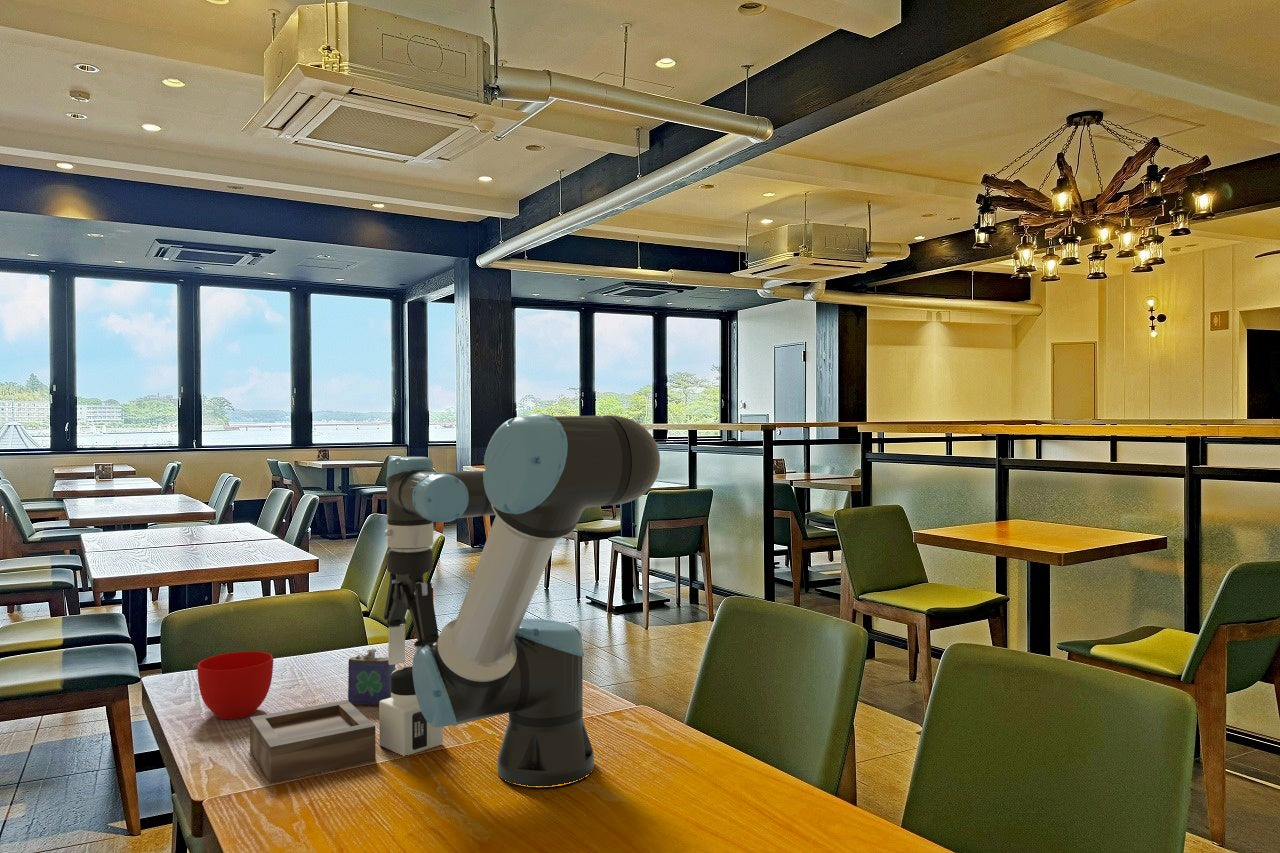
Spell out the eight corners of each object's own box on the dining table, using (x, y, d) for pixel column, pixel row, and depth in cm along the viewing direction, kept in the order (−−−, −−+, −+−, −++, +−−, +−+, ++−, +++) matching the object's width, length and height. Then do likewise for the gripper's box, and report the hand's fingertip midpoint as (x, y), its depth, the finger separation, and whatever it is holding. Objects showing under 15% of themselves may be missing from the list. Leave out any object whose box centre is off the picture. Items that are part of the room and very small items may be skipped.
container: (443, 744, 149) (443, 668, 149) (403, 757, 143) (403, 678, 143) (418, 733, 154) (417, 659, 154) (378, 745, 149) (378, 669, 148)
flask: (397, 702, 171) (397, 647, 171) (392, 707, 168) (392, 651, 168) (350, 701, 172) (350, 647, 172) (345, 706, 169) (344, 651, 169)
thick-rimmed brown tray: (375, 759, 142) (375, 726, 142) (270, 783, 133) (270, 747, 133) (347, 730, 156) (347, 699, 156) (250, 750, 147) (249, 717, 147)
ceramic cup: (250, 693, 177) (249, 643, 177) (284, 713, 165) (284, 660, 165) (180, 708, 168) (180, 656, 168) (211, 731, 156) (211, 674, 156)
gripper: (365, 540, 157) (365, 658, 157) (414, 561, 136) (414, 697, 137) (406, 537, 161) (406, 652, 161) (459, 556, 140) (459, 688, 141)
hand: (410, 673), depth 149 cm, fingers open, 13 cm apart
